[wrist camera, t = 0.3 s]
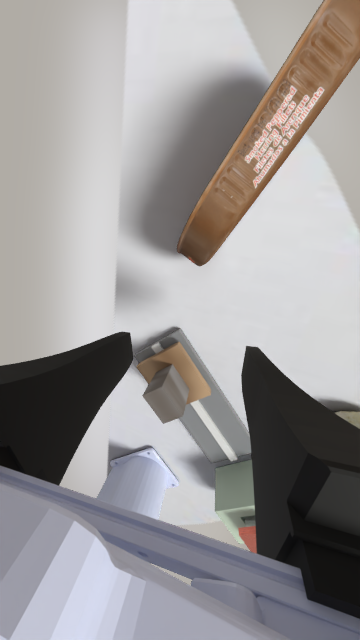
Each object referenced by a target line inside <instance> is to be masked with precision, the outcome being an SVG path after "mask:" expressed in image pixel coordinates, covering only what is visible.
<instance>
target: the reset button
mask: <svg viewBox="0 0 360 640" xmlns="http://www.w3.org/2000/svg"><path fill="white" fill-rule="evenodd" d="M238 529H239V536H240V537H241V539H242V540H243V541H244V543H245V544H246V545H247V547H248V548H249V549H250V551H251V552H253V553H256V554H257V548H256V525H255V515H253V516H246V517H245V527H242V528H238Z"/></svg>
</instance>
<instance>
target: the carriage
mask: <svg viewBox="0 0 360 640" xmlns="http://www.w3.org/2000/svg"><path fill="white" fill-rule="evenodd" d="M137 369H138V370H139V371H140V373H141V374H142V375H143V377H144V378H145V380H146V381H147V382H148V384H149V385H148V387H147V389H146V390H145V392H144V394H143V397H144V398H145V400H146V401H147V402H148V404H149V405H150V407H151V408H152V409H153V411H154V412H155V413H156V415H157V416H158V417H159V419H160V420H161V421H162V423H163V424H164V423H167V422H169V421H172V420H175V419H177V418H180V417H183V415H184V411H185V406H186V405H187V404H189V403H192V402H194V401H197V400H199V399H202V398H204V397H207V396H209V395H211V388H210V387H209V385H208V384H207V382H206V381H205V379H204V378H203V376H202V375H201V373H200V372H199V370H198V369H197V367H196V366H195V364H194V363H193V361H192V360H191V358H190V357H189V355H188V354H187V352H186V351H185V349H184V348H183V346H182V345H181V343H180V342H177V343H175V344H173V345H171V346H170V347H168V348H166V349H164V350H162V351H160V352H159V353H157V354H155V355H153V356H151V357H149V358H147V359H146V360H144V361H142V362H140V363H139V364H138V365H137Z"/></svg>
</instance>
